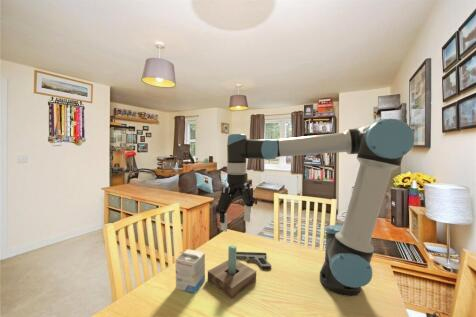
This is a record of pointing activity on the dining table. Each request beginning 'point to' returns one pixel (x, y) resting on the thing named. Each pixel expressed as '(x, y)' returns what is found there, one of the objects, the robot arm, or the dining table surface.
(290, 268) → the dining table surface
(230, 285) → the socket block
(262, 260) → the handgun
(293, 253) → the dining table surface
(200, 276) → the ink box
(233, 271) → the peg
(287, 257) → the dining table surface
